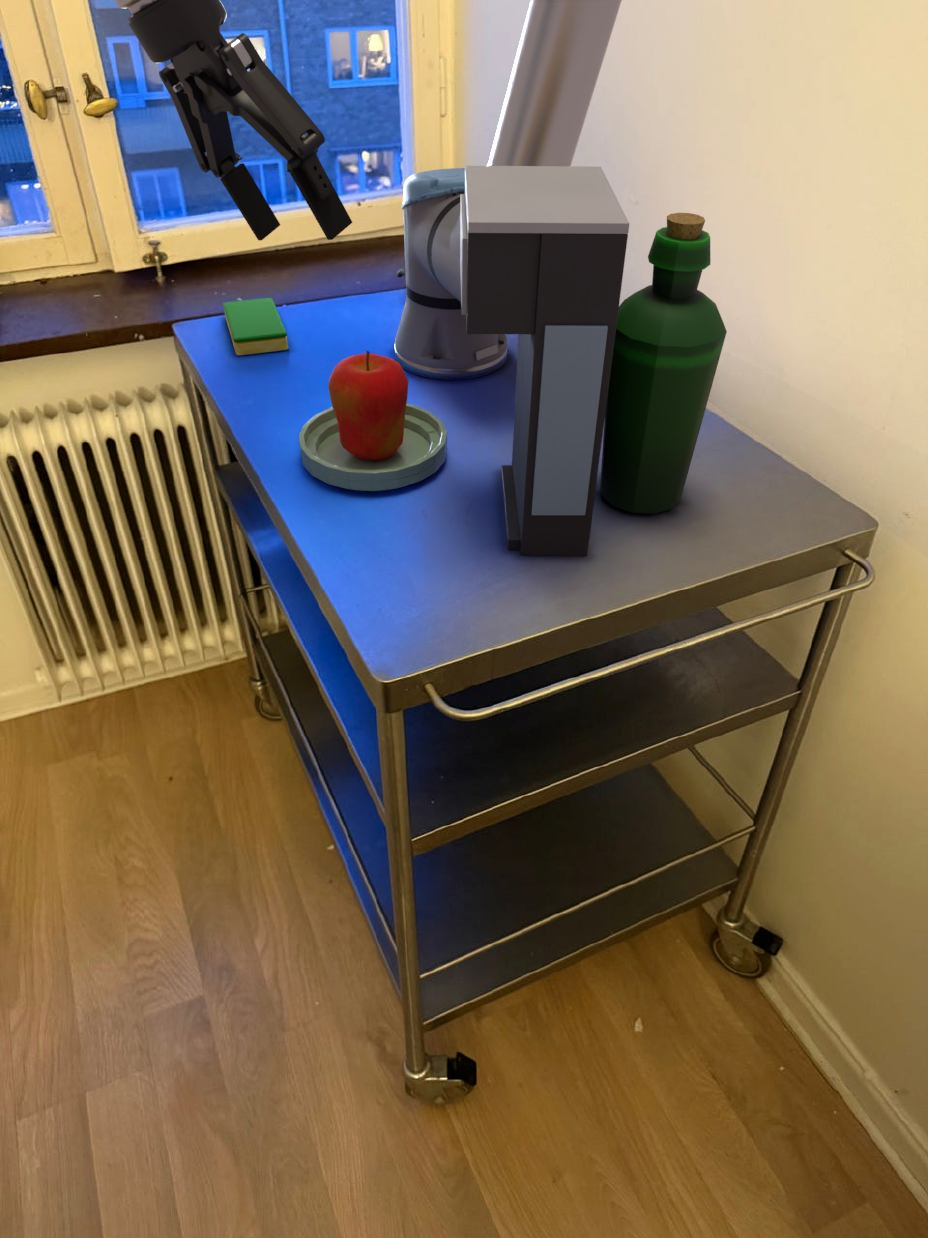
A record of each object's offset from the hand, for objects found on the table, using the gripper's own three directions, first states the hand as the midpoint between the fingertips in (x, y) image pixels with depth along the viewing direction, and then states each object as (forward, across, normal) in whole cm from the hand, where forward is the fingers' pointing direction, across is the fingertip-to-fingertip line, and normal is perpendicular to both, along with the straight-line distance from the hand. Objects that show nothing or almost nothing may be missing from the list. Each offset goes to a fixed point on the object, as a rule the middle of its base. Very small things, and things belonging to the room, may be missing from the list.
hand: (303, 232), depth 85 cm
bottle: (+36, +23, +8) cm, 43 cm away
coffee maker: (+30, +17, -3) cm, 34 cm away
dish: (+24, -1, -6) cm, 24 cm away
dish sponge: (+18, -38, +4) cm, 42 cm away
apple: (+23, 0, -6) cm, 24 cm away
